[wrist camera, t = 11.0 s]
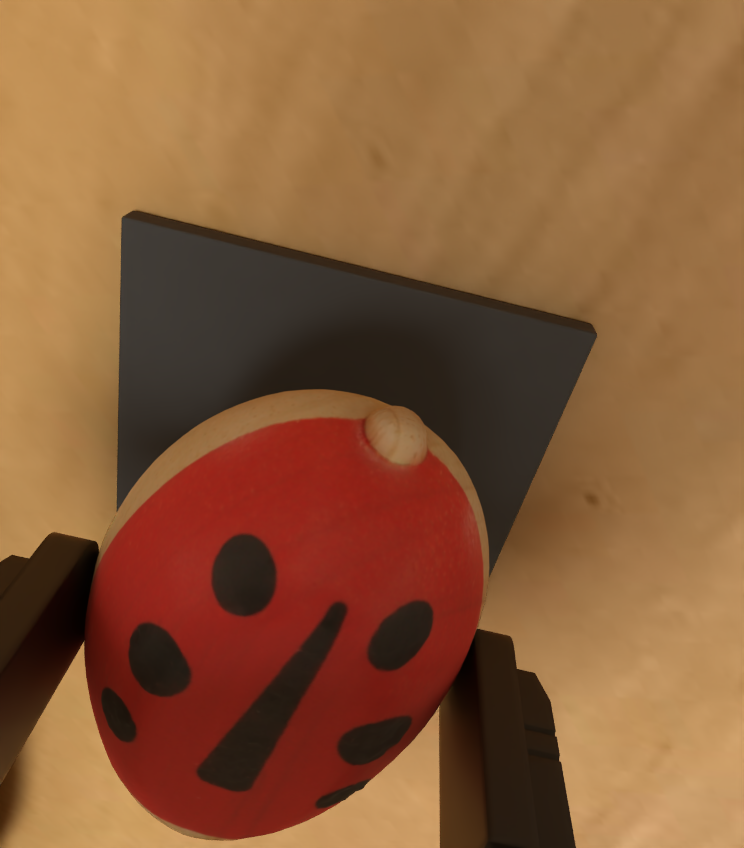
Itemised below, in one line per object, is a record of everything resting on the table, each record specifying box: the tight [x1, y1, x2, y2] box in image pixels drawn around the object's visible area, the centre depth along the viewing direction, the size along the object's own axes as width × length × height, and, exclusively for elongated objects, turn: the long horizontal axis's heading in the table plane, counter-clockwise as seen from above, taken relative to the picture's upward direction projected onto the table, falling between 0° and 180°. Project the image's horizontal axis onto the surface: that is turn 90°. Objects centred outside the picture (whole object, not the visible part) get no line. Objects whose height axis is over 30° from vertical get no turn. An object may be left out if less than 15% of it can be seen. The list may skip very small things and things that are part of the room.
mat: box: [117, 211, 597, 577], centre depth 16 cm, size 10×10×1 cm
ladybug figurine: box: [84, 389, 489, 841], centre depth 11 cm, size 7×10×4 cm
